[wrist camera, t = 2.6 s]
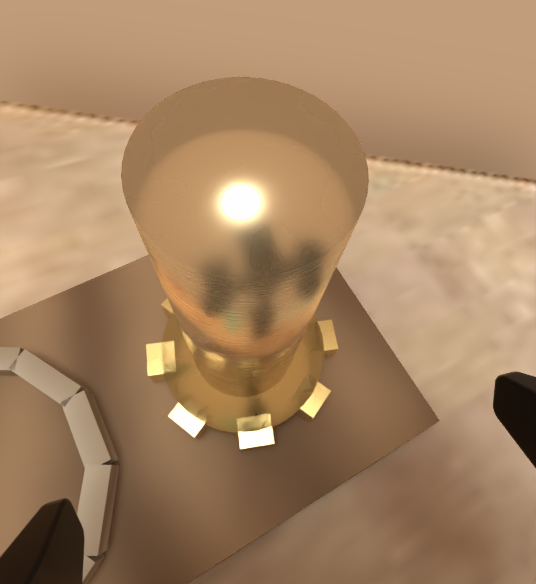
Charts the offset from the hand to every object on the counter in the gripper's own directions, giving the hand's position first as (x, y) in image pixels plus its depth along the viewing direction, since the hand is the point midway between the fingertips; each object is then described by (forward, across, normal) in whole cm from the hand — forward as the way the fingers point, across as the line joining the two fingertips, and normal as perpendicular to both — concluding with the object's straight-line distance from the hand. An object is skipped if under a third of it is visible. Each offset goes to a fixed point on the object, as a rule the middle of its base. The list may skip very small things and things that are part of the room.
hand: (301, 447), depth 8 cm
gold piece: (+11, 0, +4) cm, 12 cm away
